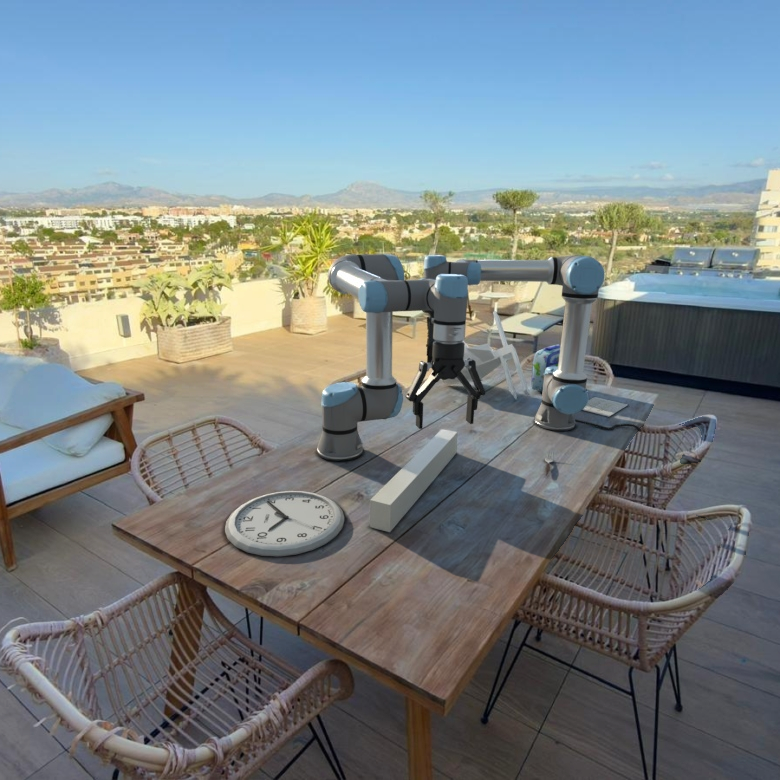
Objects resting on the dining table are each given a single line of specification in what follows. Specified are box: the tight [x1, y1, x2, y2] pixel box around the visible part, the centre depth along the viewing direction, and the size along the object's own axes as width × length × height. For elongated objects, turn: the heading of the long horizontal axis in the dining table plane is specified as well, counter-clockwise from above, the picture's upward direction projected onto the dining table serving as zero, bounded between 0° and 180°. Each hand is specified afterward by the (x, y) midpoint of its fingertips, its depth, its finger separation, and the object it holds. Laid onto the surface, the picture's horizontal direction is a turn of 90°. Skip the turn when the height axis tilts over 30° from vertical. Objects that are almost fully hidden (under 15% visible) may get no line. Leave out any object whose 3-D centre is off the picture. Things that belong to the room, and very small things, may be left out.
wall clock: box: [224, 490, 345, 557], centre depth 134 cm, size 30×2×30 cm
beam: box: [369, 428, 458, 533], centre depth 154 cm, size 54×6×8 cm, turn 155°
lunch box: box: [530, 344, 561, 393], centre depth 247 cm, size 26×11×21 cm, turn 134°
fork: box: [544, 451, 555, 476], centre depth 168 cm, size 3×16×2 cm, turn 160°
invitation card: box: [582, 396, 629, 418], centre depth 226 cm, size 21×1×15 cm
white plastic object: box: [440, 310, 531, 400], centre depth 245 cm, size 37×45×31 cm
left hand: (444, 424), depth 131 cm, fingers open, 13 cm apart
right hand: (430, 360), depth 188 cm, fingers open, 13 cm apart
